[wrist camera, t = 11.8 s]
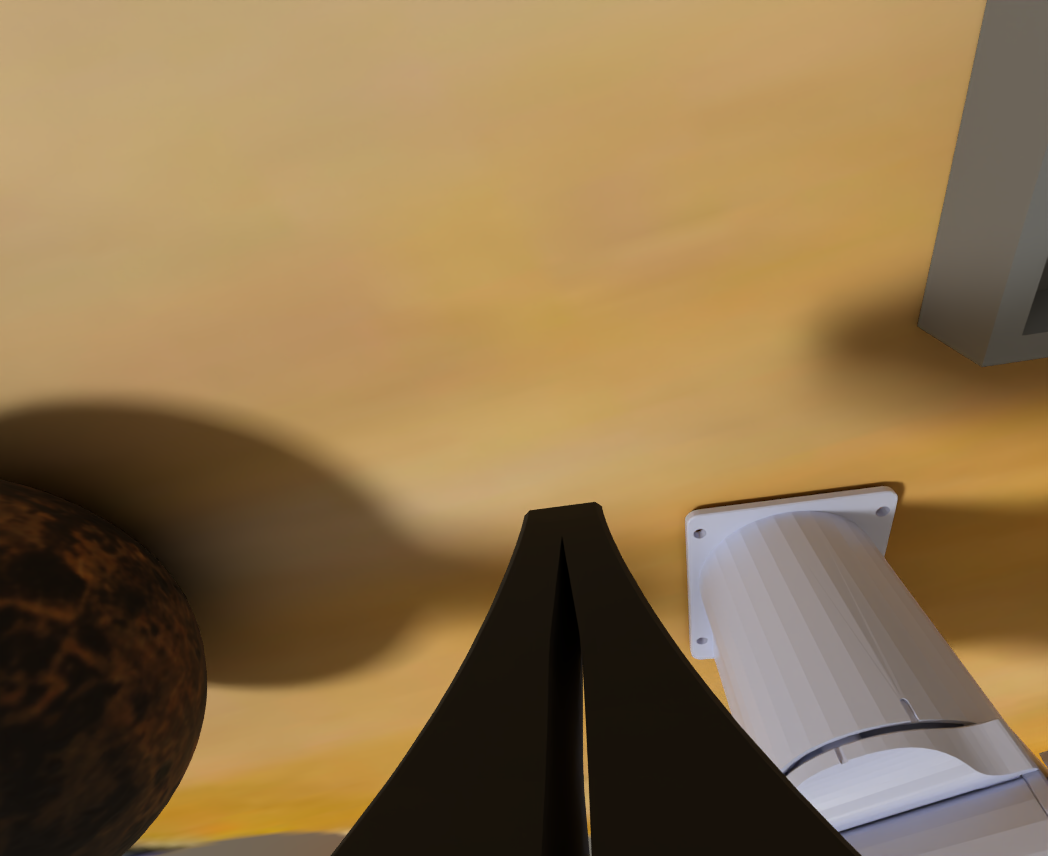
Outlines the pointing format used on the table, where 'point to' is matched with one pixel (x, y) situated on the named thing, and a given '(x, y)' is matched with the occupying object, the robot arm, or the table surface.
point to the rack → (997, 199)
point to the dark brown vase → (89, 681)
